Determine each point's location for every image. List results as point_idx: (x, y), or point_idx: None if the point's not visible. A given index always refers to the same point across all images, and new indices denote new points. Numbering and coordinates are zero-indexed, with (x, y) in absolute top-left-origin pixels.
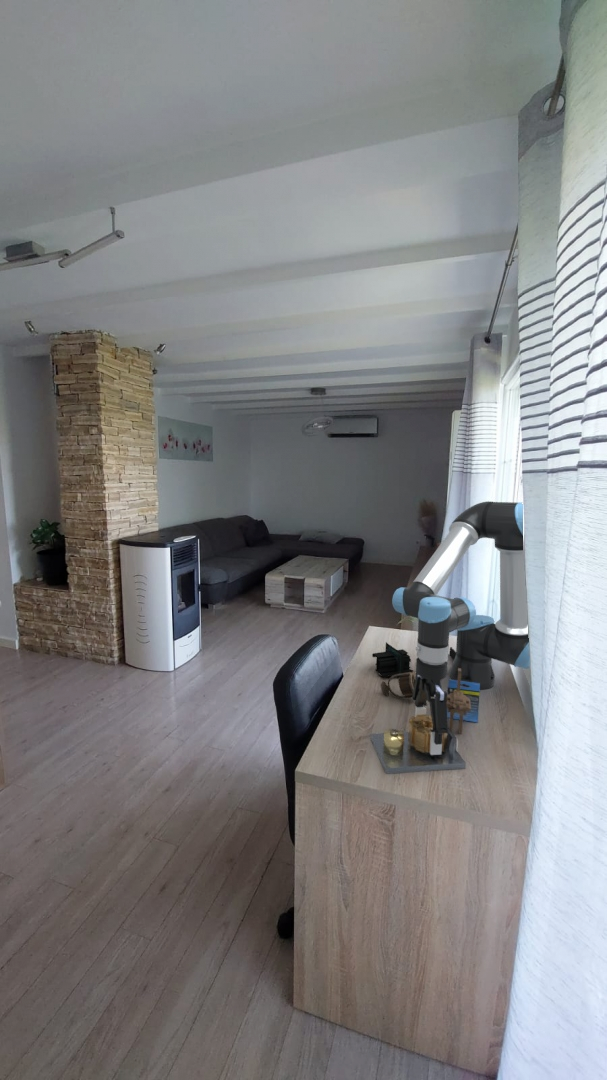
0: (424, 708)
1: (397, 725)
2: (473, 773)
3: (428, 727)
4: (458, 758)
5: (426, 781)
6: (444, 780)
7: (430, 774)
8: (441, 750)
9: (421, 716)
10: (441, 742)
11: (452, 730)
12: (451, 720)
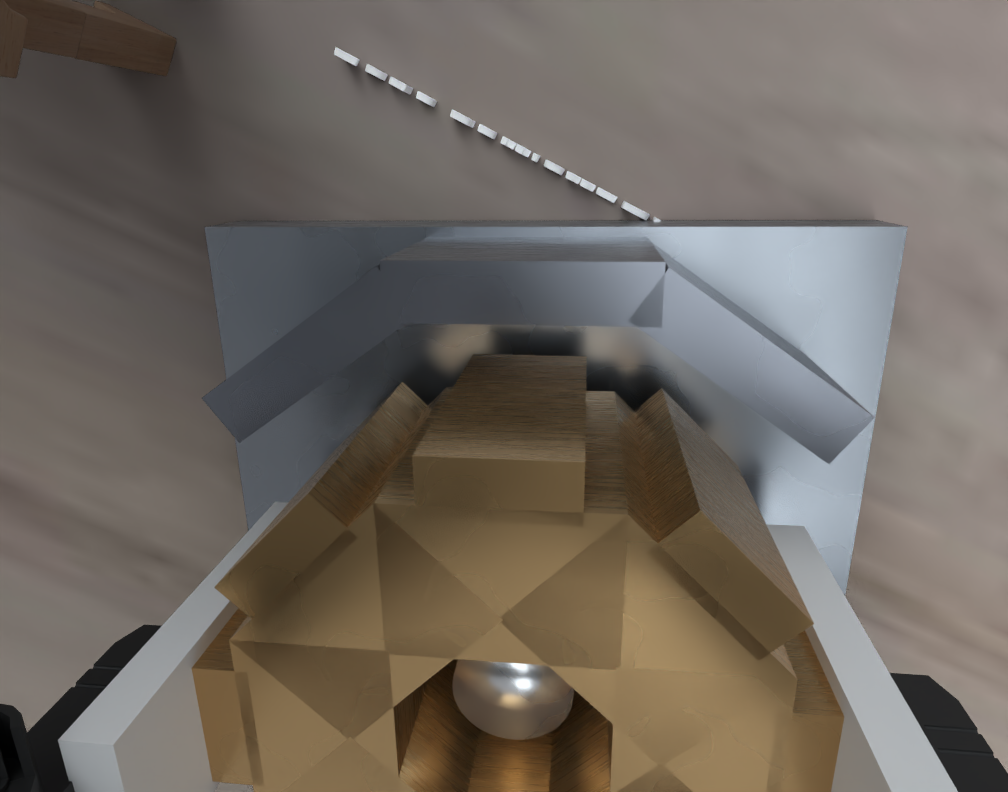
0: (125, 777)
1: (100, 594)
2: (985, 163)
3: (473, 667)
4: (806, 279)
5: (947, 676)
6: (987, 524)
7: (867, 607)
8: (821, 556)
9: (263, 747)
10: (960, 711)
11: (160, 34)
12: (56, 31)
